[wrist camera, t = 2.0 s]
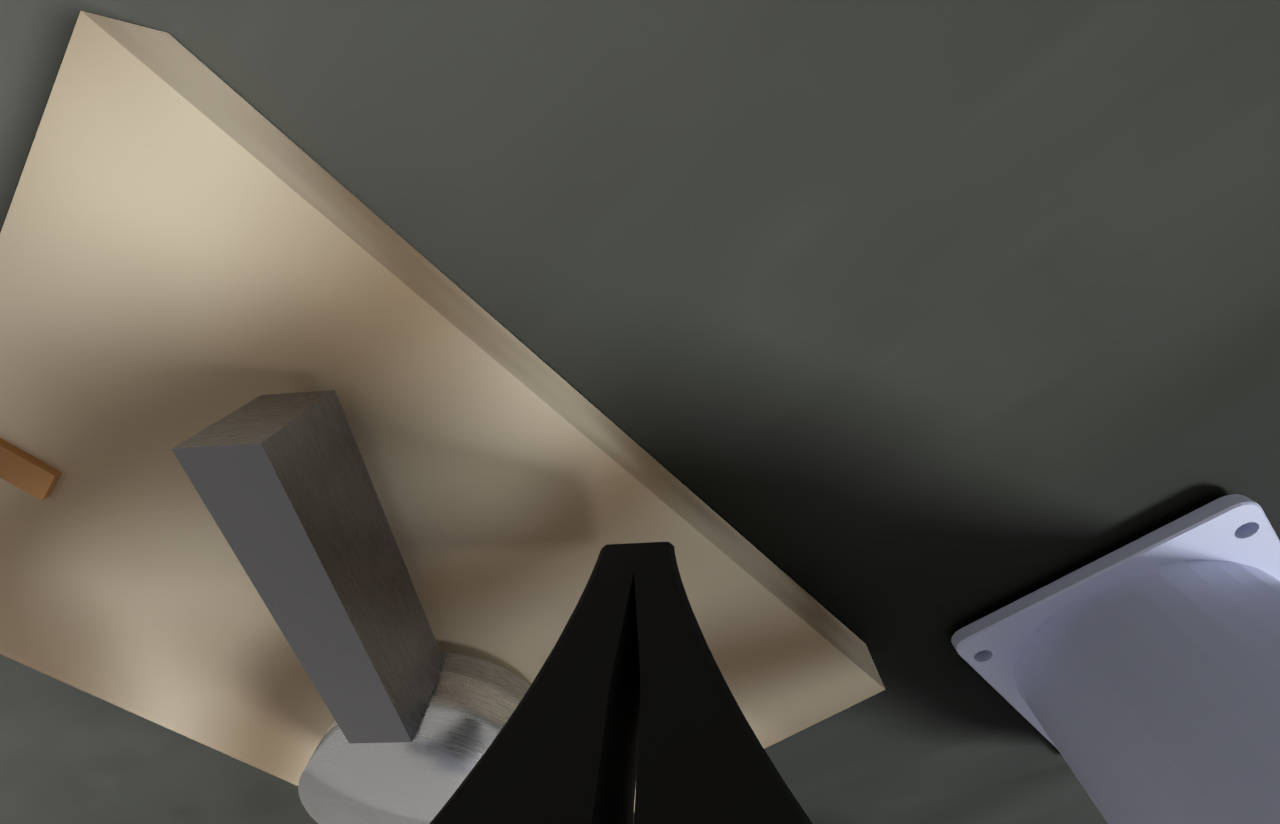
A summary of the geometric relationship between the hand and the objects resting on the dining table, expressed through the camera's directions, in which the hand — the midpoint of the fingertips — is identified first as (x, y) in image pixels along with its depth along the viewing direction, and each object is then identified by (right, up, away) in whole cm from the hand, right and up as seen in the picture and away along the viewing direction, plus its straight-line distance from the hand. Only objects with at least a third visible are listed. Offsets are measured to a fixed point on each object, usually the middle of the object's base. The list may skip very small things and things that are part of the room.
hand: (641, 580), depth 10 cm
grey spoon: (-6, -2, +3) cm, 7 cm away
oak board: (-7, -3, +5) cm, 9 cm away
